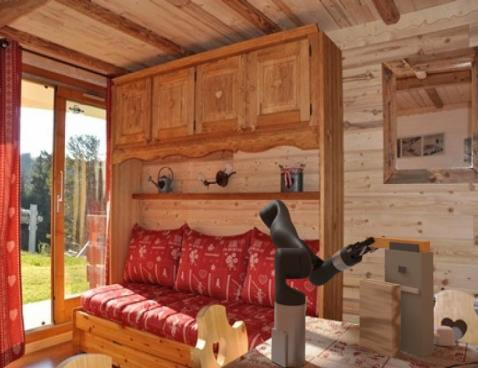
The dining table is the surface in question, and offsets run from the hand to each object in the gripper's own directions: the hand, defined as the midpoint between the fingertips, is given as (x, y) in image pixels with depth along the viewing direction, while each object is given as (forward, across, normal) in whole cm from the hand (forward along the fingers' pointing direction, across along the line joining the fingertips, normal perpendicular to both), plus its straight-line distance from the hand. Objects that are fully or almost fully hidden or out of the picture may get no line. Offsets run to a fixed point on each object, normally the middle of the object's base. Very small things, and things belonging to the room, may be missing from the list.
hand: (379, 238), depth 138 cm
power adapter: (-6, +12, +37) cm, 40 cm away
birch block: (-12, -8, +33) cm, 37 cm away
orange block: (+4, 0, +6) cm, 7 cm away
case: (-8, 0, +36) cm, 37 cm away
